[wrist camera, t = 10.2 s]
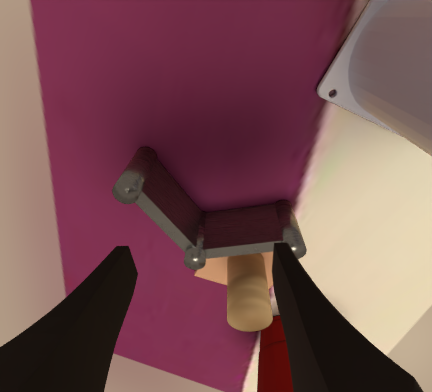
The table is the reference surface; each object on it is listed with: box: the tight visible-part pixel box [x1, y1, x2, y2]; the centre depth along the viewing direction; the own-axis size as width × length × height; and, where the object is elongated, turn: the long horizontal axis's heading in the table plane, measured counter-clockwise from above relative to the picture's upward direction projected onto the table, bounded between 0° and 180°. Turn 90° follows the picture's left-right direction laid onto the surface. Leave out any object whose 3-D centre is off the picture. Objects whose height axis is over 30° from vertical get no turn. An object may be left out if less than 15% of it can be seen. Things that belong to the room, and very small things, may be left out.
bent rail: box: [112, 147, 306, 270], centre depth 21 cm, size 14×6×5 cm, turn 67°
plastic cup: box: [257, 315, 293, 392], centre depth 28 cm, size 11×11×12 cm
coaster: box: [194, 252, 273, 290], centre depth 26 cm, size 8×8×1 cm
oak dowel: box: [227, 253, 273, 332], centre depth 24 cm, size 4×4×6 cm
